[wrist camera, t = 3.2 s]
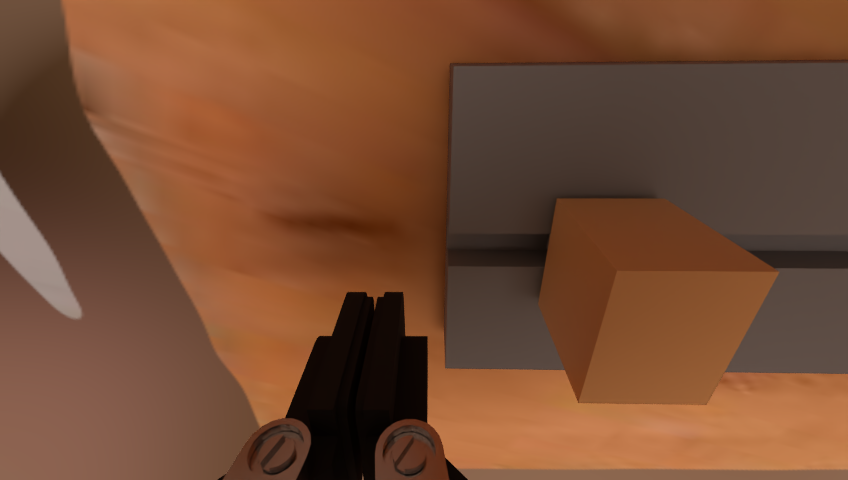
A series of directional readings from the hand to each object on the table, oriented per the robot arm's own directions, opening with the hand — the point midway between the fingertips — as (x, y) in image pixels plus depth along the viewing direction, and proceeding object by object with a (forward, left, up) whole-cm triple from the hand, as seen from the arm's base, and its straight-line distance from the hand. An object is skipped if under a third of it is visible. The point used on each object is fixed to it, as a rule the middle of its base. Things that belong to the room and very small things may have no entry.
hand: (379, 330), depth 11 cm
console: (-18, 0, -8) cm, 20 cm away
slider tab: (-8, 0, -6) cm, 10 cm away
